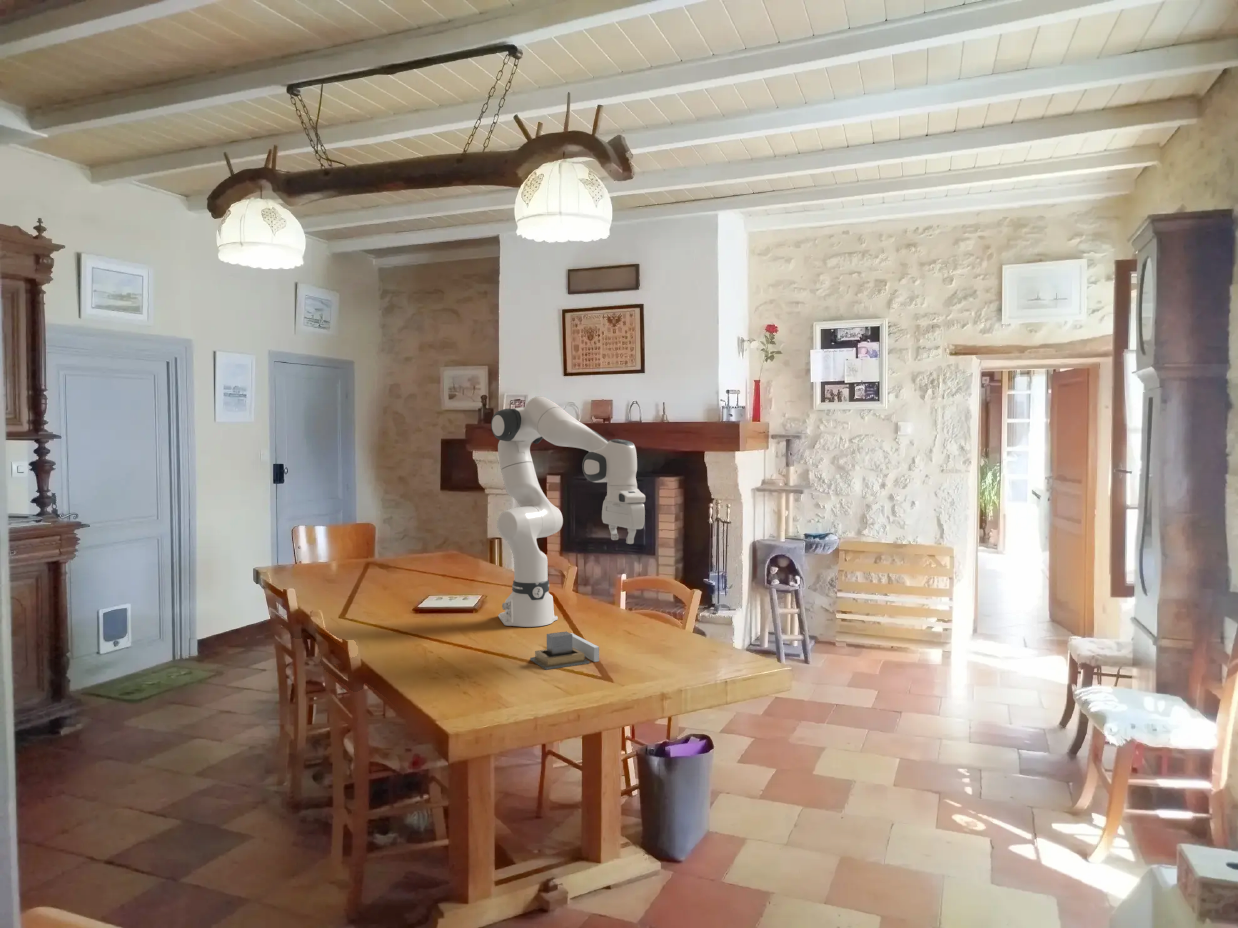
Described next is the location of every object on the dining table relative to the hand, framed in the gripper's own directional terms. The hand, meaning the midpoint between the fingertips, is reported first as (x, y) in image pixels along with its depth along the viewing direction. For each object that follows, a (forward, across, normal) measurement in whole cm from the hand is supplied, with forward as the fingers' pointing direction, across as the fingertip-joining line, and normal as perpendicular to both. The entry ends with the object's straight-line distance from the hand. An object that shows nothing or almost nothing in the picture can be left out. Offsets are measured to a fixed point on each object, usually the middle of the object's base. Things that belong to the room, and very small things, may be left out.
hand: (622, 541), depth 246 cm
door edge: (+31, +2, -14) cm, 34 cm away
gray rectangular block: (+30, +6, -23) cm, 39 cm away
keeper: (+31, +6, -23) cm, 39 cm away
